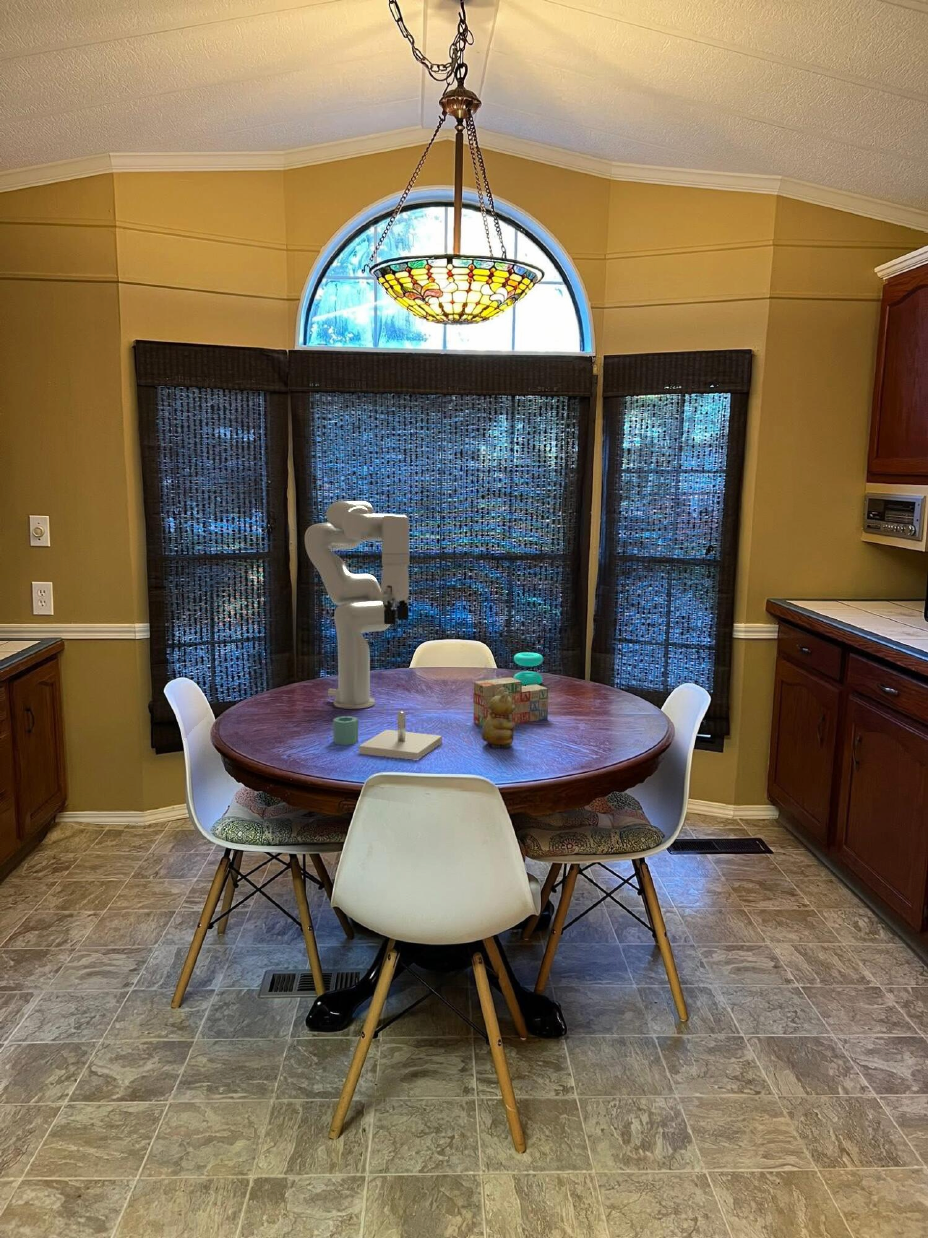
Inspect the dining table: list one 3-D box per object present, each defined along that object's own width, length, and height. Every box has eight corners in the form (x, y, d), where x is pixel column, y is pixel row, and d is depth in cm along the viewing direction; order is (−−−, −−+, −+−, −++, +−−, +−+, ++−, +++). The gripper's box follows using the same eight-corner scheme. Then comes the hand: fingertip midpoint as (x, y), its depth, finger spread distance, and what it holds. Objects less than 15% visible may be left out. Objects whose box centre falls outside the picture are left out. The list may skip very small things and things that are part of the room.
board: (359, 753, 225) (359, 716, 224) (386, 736, 240) (386, 702, 239) (417, 760, 220) (417, 723, 218) (441, 743, 235) (442, 708, 233)
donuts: (542, 657, 299) (512, 656, 300) (541, 687, 300) (512, 685, 302) (544, 652, 309) (515, 651, 310) (543, 680, 310) (514, 679, 311)
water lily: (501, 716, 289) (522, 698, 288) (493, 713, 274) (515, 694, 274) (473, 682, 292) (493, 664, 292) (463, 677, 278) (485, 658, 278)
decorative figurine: (518, 749, 230) (519, 692, 228) (488, 751, 228) (488, 694, 226) (506, 739, 239) (507, 684, 237) (476, 741, 237) (477, 685, 235)
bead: (330, 743, 234) (329, 721, 233) (341, 737, 239) (340, 715, 238) (350, 745, 232) (350, 723, 231) (361, 739, 237) (361, 717, 236)
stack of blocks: (536, 714, 265) (537, 674, 263) (548, 719, 260) (549, 678, 258) (472, 723, 255) (473, 680, 253) (483, 728, 250) (484, 685, 248)
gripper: (394, 557, 255) (395, 617, 258) (370, 561, 239) (371, 625, 241) (419, 558, 253) (419, 618, 256) (397, 562, 237) (397, 626, 239)
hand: (396, 621), depth 248 cm, fingers open, 9 cm apart
